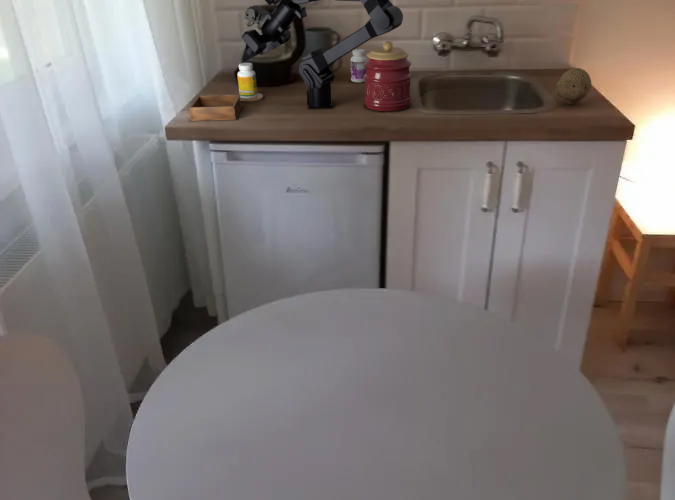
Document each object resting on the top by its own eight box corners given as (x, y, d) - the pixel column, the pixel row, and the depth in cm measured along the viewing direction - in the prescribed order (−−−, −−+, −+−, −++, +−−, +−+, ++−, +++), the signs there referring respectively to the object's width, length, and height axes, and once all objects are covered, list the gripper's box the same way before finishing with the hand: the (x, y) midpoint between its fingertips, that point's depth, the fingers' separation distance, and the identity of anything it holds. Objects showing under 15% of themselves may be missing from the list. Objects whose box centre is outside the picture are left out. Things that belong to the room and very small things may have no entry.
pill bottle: (348, 79, 205) (348, 49, 200) (363, 77, 206) (363, 47, 201) (353, 83, 200) (353, 52, 195) (369, 81, 201) (369, 50, 197)
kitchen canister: (395, 96, 185) (396, 34, 176) (418, 107, 175) (421, 42, 166) (356, 103, 180) (355, 39, 172) (377, 114, 170) (378, 48, 161)
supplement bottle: (240, 94, 190) (236, 62, 186) (257, 93, 191) (254, 61, 186) (239, 99, 186) (235, 66, 181) (257, 98, 186) (254, 65, 181)
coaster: (264, 93, 192) (264, 92, 192) (261, 101, 184) (261, 100, 184) (235, 94, 192) (235, 92, 192) (231, 102, 185) (231, 101, 184)
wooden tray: (241, 106, 181) (240, 94, 179) (235, 119, 170) (234, 106, 168) (199, 107, 181) (197, 95, 179) (190, 120, 170) (188, 107, 168)
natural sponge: (589, 110, 169) (596, 72, 164) (555, 108, 171) (560, 71, 166) (586, 100, 176) (592, 64, 171) (553, 99, 178) (558, 63, 173)
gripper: (278, -9, 179) (249, 30, 188) (243, 0, 164) (214, 42, 173) (304, 20, 180) (274, 58, 189) (272, 32, 165) (241, 72, 174)
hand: (251, 57), depth 181 cm, fingers open, 9 cm apart
